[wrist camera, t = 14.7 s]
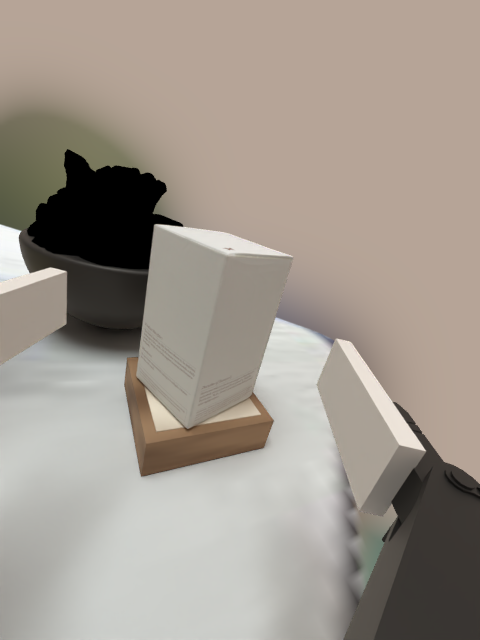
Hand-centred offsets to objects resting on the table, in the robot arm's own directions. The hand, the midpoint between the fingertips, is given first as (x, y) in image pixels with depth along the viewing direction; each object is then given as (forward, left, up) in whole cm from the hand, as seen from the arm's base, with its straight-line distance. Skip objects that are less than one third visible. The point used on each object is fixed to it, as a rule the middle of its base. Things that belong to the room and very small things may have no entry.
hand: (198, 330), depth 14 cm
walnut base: (-7, +4, -12) cm, 14 cm away
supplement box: (-7, +4, -9) cm, 12 cm away
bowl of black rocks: (-25, -1, -12) cm, 28 cm away
